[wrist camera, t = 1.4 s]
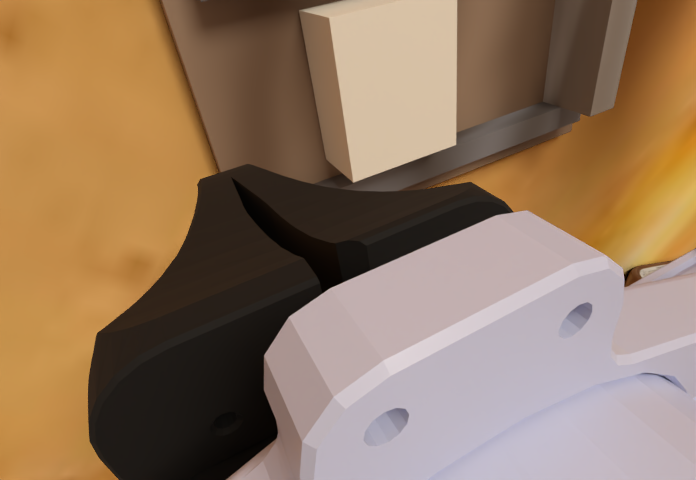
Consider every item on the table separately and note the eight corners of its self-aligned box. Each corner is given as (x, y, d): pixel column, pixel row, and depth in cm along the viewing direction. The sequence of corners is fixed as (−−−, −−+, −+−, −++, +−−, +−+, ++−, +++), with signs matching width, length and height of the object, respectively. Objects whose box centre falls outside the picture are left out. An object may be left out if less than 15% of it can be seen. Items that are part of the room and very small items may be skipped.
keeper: (414, -17, 18) (457, -14, 16) (420, 126, 21) (456, 144, 19) (298, 10, 16) (328, 17, 14) (326, 159, 20) (353, 182, 18)
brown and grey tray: (603, -157, 19) (694, -178, 16) (560, 127, 27) (616, 147, 24) (129, -88, 13) (140, -101, 11) (245, 248, 21) (270, 294, 18)
